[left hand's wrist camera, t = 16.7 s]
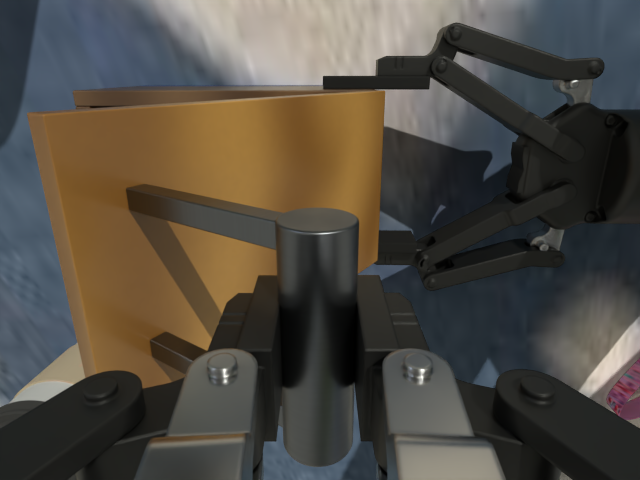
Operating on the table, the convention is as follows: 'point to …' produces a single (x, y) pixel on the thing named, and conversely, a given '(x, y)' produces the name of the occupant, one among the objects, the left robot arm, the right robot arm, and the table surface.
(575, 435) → the left robot arm
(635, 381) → the headband
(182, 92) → the chest
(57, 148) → the lid
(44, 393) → the coffee cup
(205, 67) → the table surface
